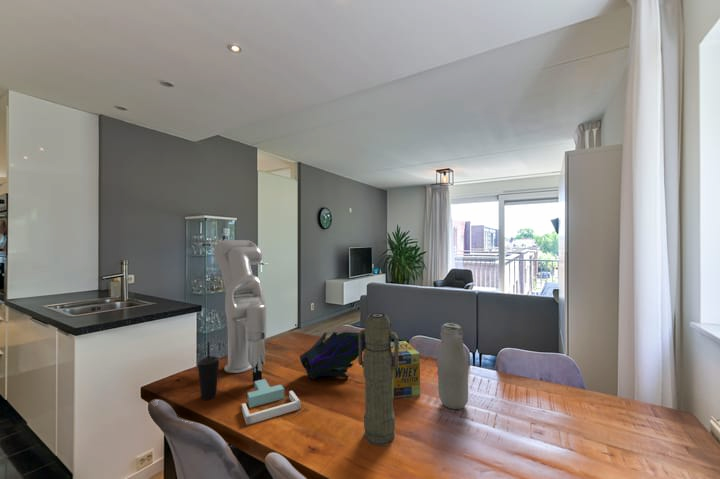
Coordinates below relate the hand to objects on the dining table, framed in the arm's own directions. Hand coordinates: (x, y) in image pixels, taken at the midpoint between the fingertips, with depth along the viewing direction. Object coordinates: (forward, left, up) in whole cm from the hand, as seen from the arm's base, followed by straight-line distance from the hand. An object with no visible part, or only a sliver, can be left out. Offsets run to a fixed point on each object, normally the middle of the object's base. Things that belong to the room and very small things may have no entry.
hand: (257, 380), depth 122 cm
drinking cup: (+1, -18, -1) cm, 18 cm away
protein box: (+33, +46, -2) cm, 57 cm away
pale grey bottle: (+53, +53, -1) cm, 75 cm away
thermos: (+53, +23, -1) cm, 58 cm away
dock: (+22, 0, -1) cm, 22 cm away
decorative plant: (+9, +30, -2) cm, 32 cm away
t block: (+11, 0, -1) cm, 11 cm away
